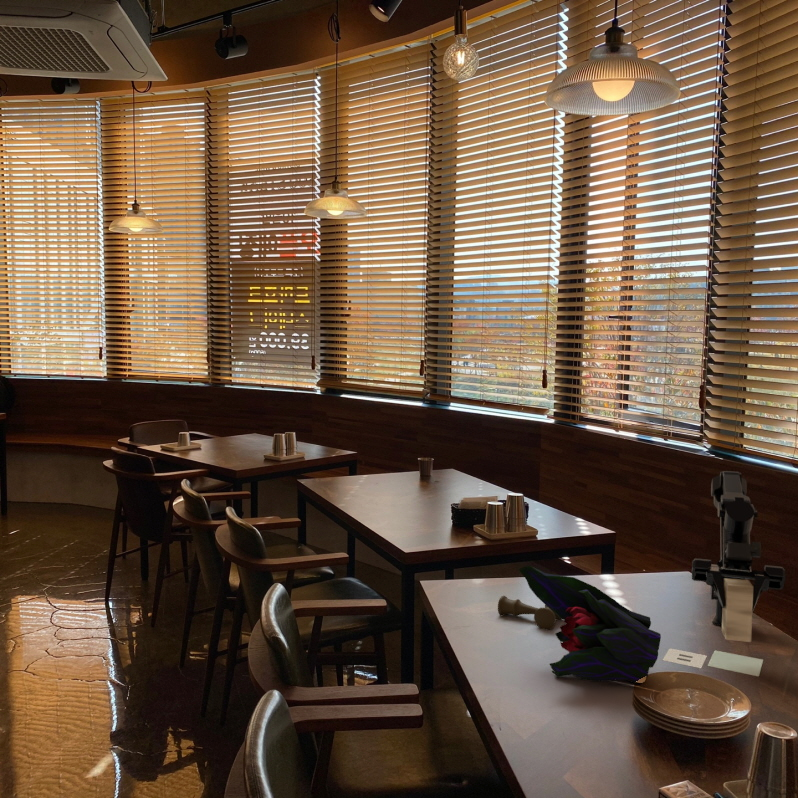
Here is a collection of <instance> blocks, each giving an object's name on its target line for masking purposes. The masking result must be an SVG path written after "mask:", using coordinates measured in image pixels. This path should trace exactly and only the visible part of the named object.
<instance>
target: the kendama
mask: <svg viewBox="0 0 798 798" xmlns="http://www.w3.org/2000/svg"><path fill="white" fill-rule="evenodd" d="M497 611H498V612H497V613H498V614H499V616H501V615H503V616H505V615H507V614H508V615H513V616H514V617H518V616H520V615H534V616H533V619H534V620H533V621H534V623H535V625H536V627H538V628H539V629H543V630H546V629H547V630H546V631H549V630H551V629H553V628H555V626H556V620H557V621H558V620H559V621H561V620H563V619H562V618H560V617H559V616H557V615H556V614H555V613H554V612H553V611H552V610H551V609H550V608H549V607H547V606H546V605H545V604H544V607H536V606H532V605H529V604H526V603H523V602H522V601H521V599H518V598H517V599H510V598H508V597H507V595H502V596H500V597H499V600H498V602H497Z"/></svg>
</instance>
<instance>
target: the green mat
mask: <svg viewBox="0 0 798 798" xmlns="http://www.w3.org/2000/svg"><path fill="white" fill-rule="evenodd" d="M763 663H764V659H763V658H756V657H752V656H746V655H742V654H741V655H740V654H736V653H732V652H725V651H720V650H714V651H713V653H712V655H711V657H710V660H709V662H708V663H707V667H710V668H715V669H719V670H720V669H721V670H725V671H728V672H729V671H730V672H735V673H738V674H745V675H750V676H753V677H759V676H760V673H761V670H762V666H763Z"/></svg>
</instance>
